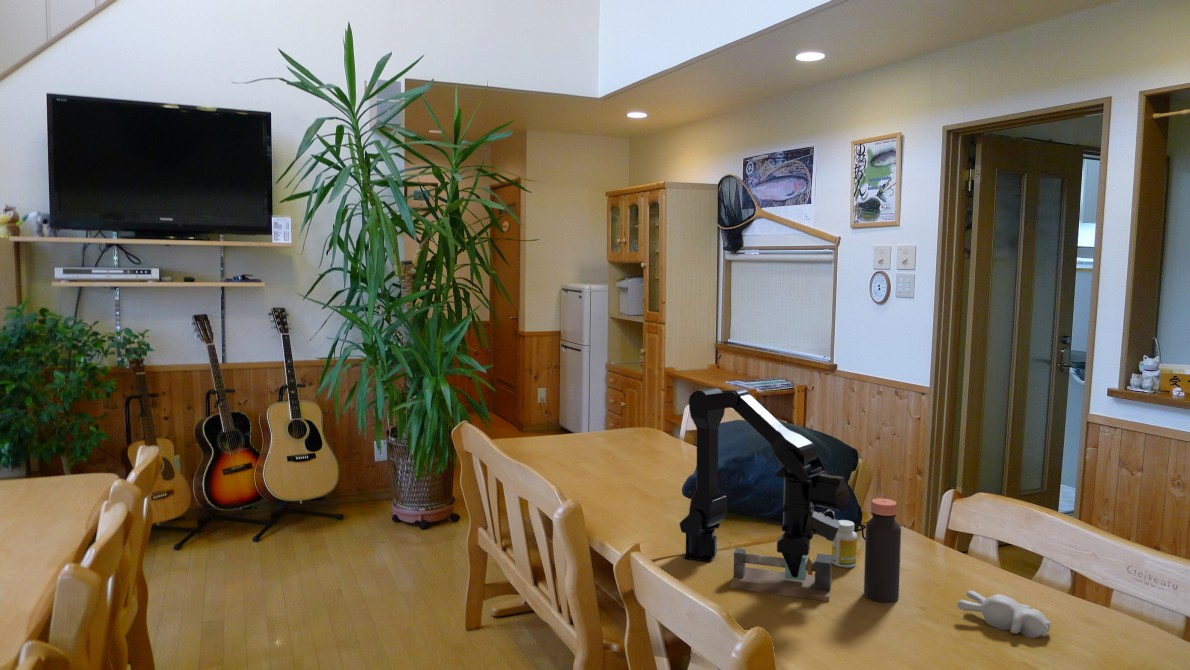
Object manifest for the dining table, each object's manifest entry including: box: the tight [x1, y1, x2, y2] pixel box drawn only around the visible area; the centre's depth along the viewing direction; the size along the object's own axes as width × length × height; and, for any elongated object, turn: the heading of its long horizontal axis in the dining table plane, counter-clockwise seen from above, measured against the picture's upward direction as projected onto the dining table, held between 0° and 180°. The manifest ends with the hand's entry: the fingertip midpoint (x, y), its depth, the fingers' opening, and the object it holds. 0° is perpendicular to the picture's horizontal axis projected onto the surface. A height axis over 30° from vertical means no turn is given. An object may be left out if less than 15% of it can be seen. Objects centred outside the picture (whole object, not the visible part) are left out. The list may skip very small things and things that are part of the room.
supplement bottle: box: [831, 519, 858, 569], centre depth 182 cm, size 5×5×10 cm
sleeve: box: [784, 555, 808, 581], centre depth 169 cm, size 4×5×5 cm
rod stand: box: [730, 547, 833, 602], centre depth 170 cm, size 20×10×7 cm, turn 70°
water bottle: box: [863, 497, 902, 604], centre depth 163 cm, size 7×7×20 cm
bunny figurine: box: [957, 590, 1052, 639], centre depth 151 cm, size 10×5×15 cm
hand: (796, 572), depth 169 cm, fingers closed on sleeve, 5 cm apart
